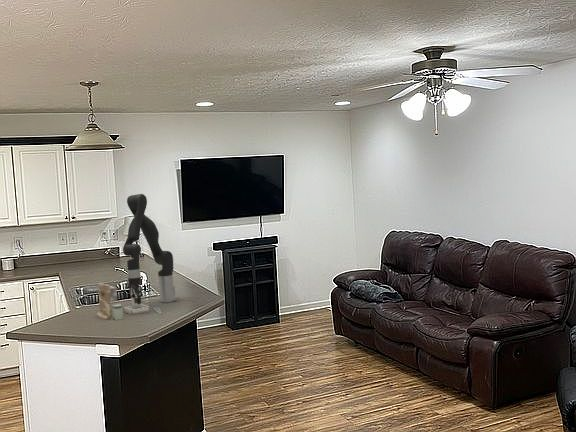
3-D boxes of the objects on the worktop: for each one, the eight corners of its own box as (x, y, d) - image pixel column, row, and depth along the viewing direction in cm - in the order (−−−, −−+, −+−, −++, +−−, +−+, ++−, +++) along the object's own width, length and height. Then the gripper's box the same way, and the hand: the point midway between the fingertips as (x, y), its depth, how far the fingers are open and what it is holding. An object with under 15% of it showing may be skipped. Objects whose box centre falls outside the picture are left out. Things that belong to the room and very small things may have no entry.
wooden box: (111, 312, 373) (109, 281, 372) (121, 316, 360) (118, 284, 359) (96, 315, 367) (94, 283, 366) (105, 319, 354) (103, 286, 353)
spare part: (138, 309, 373) (137, 296, 373) (141, 310, 370) (140, 297, 370) (132, 310, 371) (131, 297, 371) (134, 311, 368) (133, 298, 367)
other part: (120, 317, 358) (119, 304, 357) (123, 318, 354) (121, 305, 354) (113, 318, 355) (112, 305, 355) (116, 320, 352) (115, 306, 351)
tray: (142, 308, 379) (141, 304, 379) (149, 311, 369) (149, 306, 369) (124, 312, 372) (123, 307, 372) (131, 314, 363) (131, 310, 362)
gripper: (144, 276, 366) (146, 303, 367) (135, 274, 377) (137, 300, 378) (132, 278, 361) (135, 305, 362) (123, 276, 373) (126, 302, 374)
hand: (136, 302), depth 370 cm, fingers open, 8 cm apart
